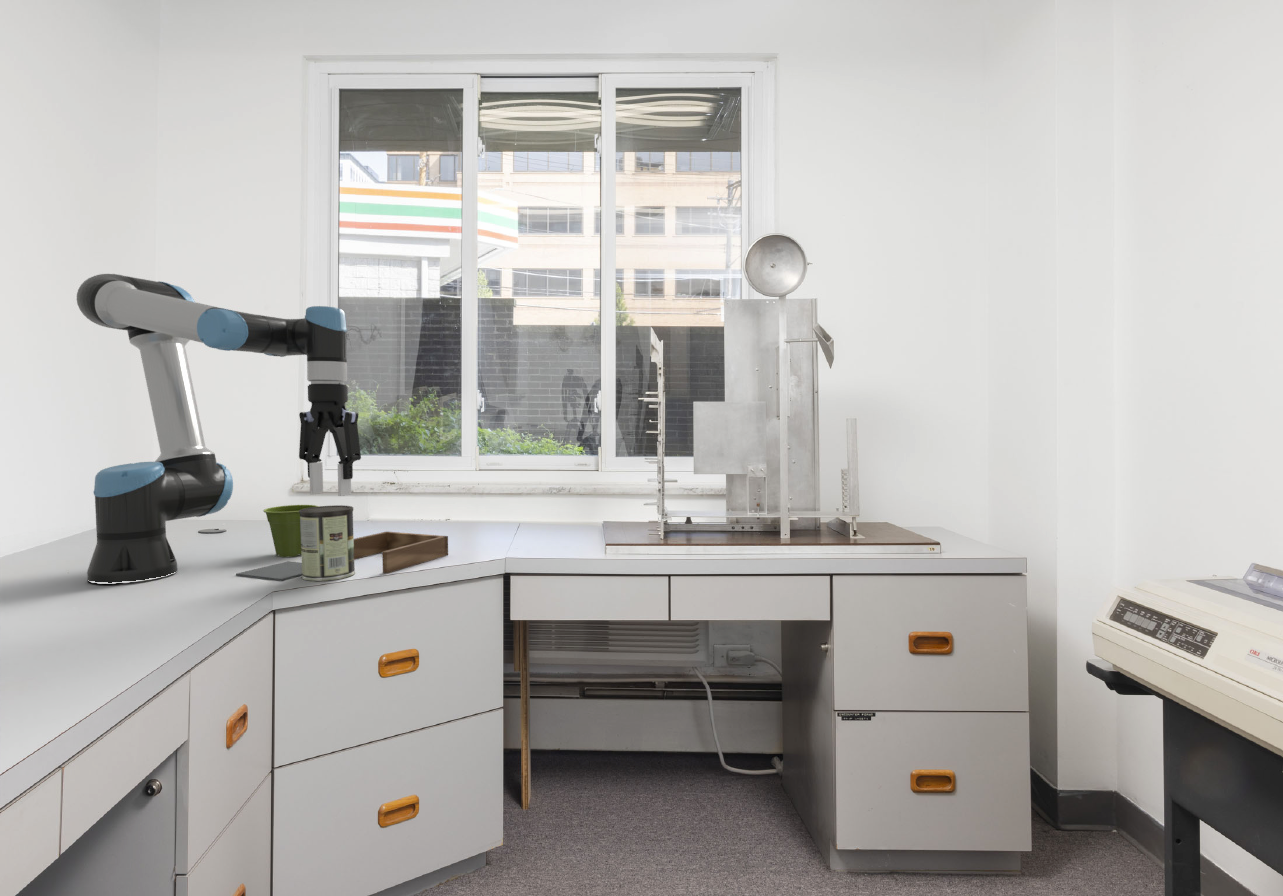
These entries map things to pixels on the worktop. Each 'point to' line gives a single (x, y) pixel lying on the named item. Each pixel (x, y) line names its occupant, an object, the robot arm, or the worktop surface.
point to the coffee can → (327, 542)
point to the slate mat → (275, 571)
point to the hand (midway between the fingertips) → (330, 494)
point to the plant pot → (286, 528)
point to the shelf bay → (401, 548)
